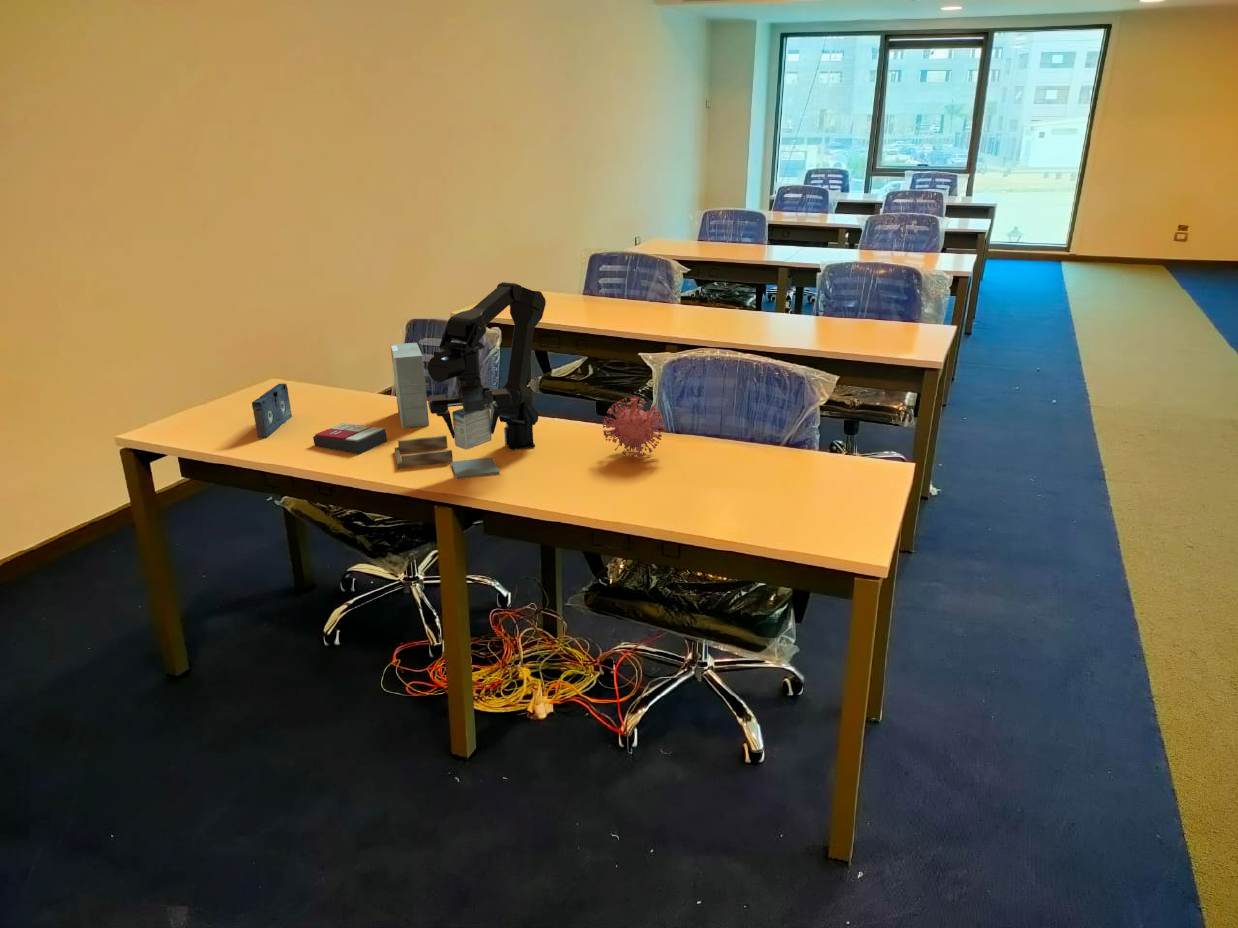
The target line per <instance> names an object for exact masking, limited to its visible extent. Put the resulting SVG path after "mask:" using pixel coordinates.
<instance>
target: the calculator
mask: <svg viewBox="0 0 1238 928" xmlns="http://www.w3.org/2000/svg"><path fill="white" fill-rule="evenodd" d="M312 438H313V444H314V447H317V448H322V449H327V450H332V451H333V450H334V451H341V452H345V453H348V454H354V455H362V454H363V453H365V452H368V451H370V450H372V449H374V447H375V448H377V447H379V446H380V445H382V444H385V443H388V437H387V430H386V428H383V427H375V426H373V427H371V426H370V425H364V424H363V425H362V424H355V423H354V424H353V423H346V422H345V423H343V422H342V423H339V424H337V425H334V426H332V427H330V428H327V429H324V430H321V431H320V432H318V433H315V434H314V436H313V437H312Z"/></svg>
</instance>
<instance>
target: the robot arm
mask: <svg viewBox="0 0 1238 928" xmlns="http://www.w3.org/2000/svg"><path fill="white" fill-rule="evenodd" d="M546 303H547V301H546V298H545V297H544V294H543V293H542V292H541V290H533V289H530V288H527V287H524V286H522V285H520V284H518V283H516V282H515V283H514V282H507V281H505V282H503V281H502V282H499V283H498V284H497V287H496V288H495V289H494V290H493V291H491V292H490V293H488V295H486V296H485V297H484V298H483V299H482V300H480V302H479V303H477V304H476V305H475V306H473V307H472V308H471V309H468V310H463V311H460V312H457V313H456V314H454V315H452V316H450V318H449V319H448V320H447V323H446V326H445V329H444V331H443V335H442V337H441V340H440V343H439V346H438V348H439V349H438V350H434V351H433V352H432V353H433V356H432V357H431V358H430V359H429V361H428V364H427V372H428V375H429V377H430V378H431V379H432V380H433V381H435V382H436V383H443V382H445V381H446V382H447V381H449V380H452V379H454V378H455V385H456V396H457V397H450V398H448V397H446V394H436V395H434V394H433V395H429V396H428V398H427V406H428V410H429V412H430V414H433V415H435V414H436V416H437V417H441V418H442V419H443V420H444V422H445V423H446V426H447V428H448V430H449V433H450V435H451V438H452V439H455V438H454V427H453V420H452V418H451V412H450V409H449V408H451V407H459V406H460V407H461V406H462V408H463V409H464V411H465V412H471V411H477V410H479V411H483V410H484V409H485V406H486V405H490V421H491V435H494V433H495V430H496V426H497V423H498V419H499V421H500V423H505V426H504V427H503V431H504V432H503V433H504V442H505V445H506V446H507V447H508V449H509V450H511V451H512V450H520V449H528V448H530V449H531V448H535V447H536V444H535V442H534V430H533V429H534V427H533V426H535V425H536V423H538V421H539V415H540V414H539V412H538V411H537V410H536V409H535V407H534V406H532V395H531V392H530V390H529V387H528V380H529V379H528V377H529V373H530V371H529V369H530V364H531V363H530V361H531V357H532V356H531V355H532V350H533V348H532V347H533V340H534V334H535V329H536V326H537V325H538V324H539V323H540V322H541V320H543V315H544V311H545V308H546ZM507 307H509V314H510V317H511V320H512V322H513V324H514V327H513V335H512V340H511V341H512V342H511V348H510V349H511V350H510V357H509V362H508V373H507V377H506V378H507V379H506V383H505V384H504V386H502V387H498V388H496V389H493V388H492V386H488V387H483V385H482V375H481V361H480V360H481V359H480V351H481V350H482V349H485V348H486V347H485V345H484V344H483V343H481V342H480V340H481V339H482V338H483V337H484V335H485V334H486V333H487V326H488V324H490V323H491V321H493V320H494V319H495V318H496V317H497V316H498V315H500V314H501V313H502V312H503V311H504V310H506V308H507Z"/></svg>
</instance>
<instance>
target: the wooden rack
mask: <svg viewBox="0 0 1238 928" xmlns="http://www.w3.org/2000/svg"><path fill="white" fill-rule="evenodd" d="M447 438H448V437H447V435H445V434H444V435H437V436H427V437H417V438H409V439H407V438H406V439H398V440H397V444H398V446H396V447H394V453H395V454H394V455H395V460H396V464H397V465H396V466H397V469H407V468H408V469H409V468H415V467H424V466H433V465H443V464H451V462H453V461H454V457H453V450H452V449H448V439H447ZM439 449H443V450H439ZM444 449H445V450H444ZM428 450H433V451H428ZM435 450H436V451H435ZM420 451H426V452H420ZM411 452H416V453H411ZM417 452H418V453H417ZM402 453H407V454H402Z"/></svg>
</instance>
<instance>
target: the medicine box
mask: <svg viewBox="0 0 1238 928" xmlns="http://www.w3.org/2000/svg"><path fill="white" fill-rule="evenodd" d="M490 412H491V407H489V406H487V405H485V409H484V410H483V411H479V410H477V411H471V412H465V411H464V409H463V407H462V408H459V409H457V410H453V411H452V413H451V414H452V425H453V430H454V438H453V439H454V445H455V447H457V448H460V449H463V450H465V451H466V450H468V451H469V450H470V449H472V448H475V447H478V446H480V445H483V444H486V443H489V442H491V441H492V437H493V436H492V433H491V421H490Z"/></svg>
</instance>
